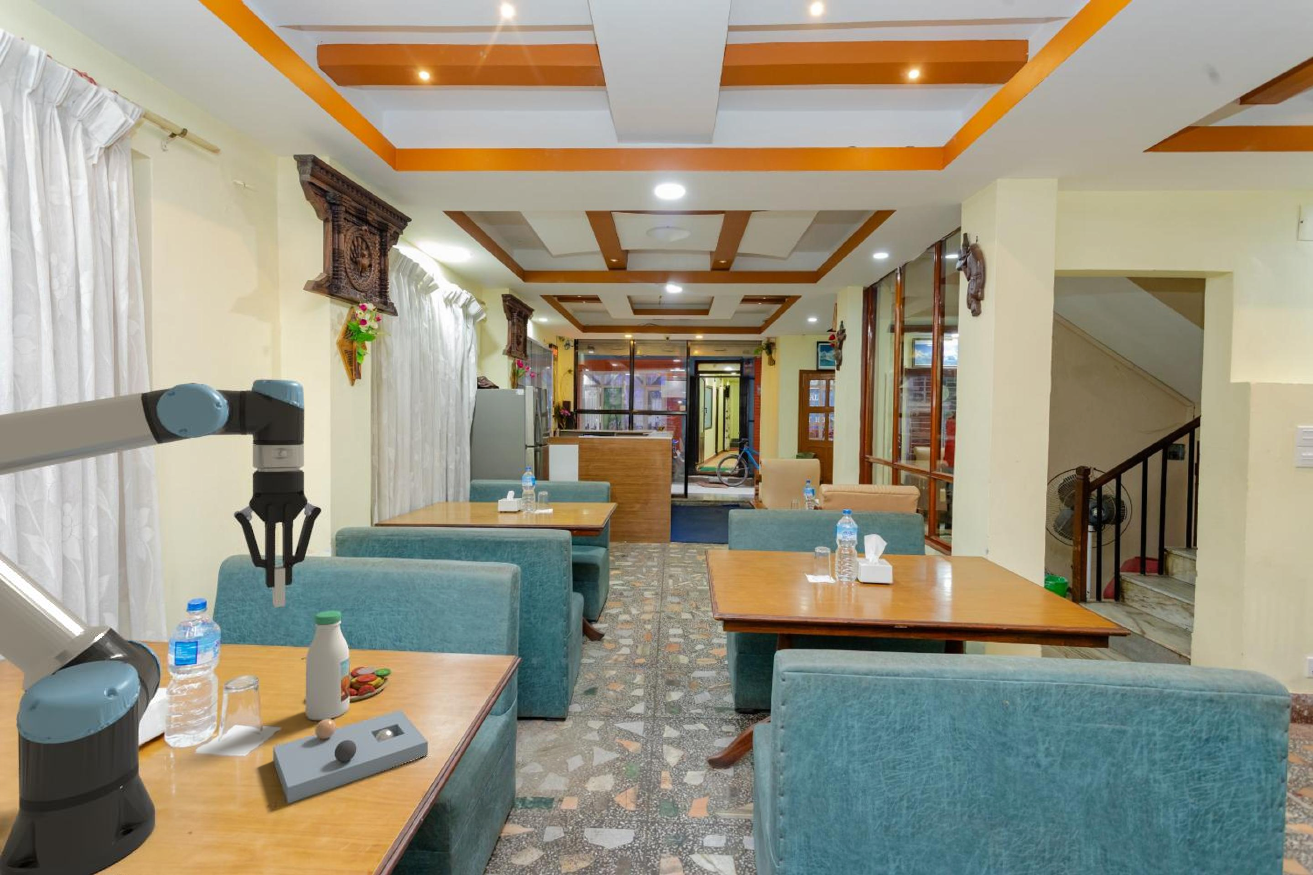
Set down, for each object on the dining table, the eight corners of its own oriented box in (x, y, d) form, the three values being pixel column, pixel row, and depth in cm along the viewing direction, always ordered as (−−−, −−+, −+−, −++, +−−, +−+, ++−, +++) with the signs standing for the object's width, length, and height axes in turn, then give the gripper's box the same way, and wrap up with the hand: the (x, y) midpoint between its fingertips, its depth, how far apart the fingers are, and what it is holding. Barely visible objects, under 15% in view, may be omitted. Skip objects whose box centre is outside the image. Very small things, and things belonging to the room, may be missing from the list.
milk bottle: (330, 723, 114) (330, 620, 114) (296, 719, 116) (296, 617, 116) (358, 705, 122) (358, 608, 122) (325, 701, 124) (325, 606, 123)
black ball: (337, 768, 95) (337, 748, 95) (332, 759, 98) (332, 740, 98) (358, 761, 97) (358, 741, 97) (353, 752, 100) (353, 734, 100)
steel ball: (374, 742, 103) (391, 729, 105) (369, 734, 106) (386, 722, 108) (382, 756, 104) (399, 743, 106) (377, 748, 107) (394, 736, 109)
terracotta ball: (317, 744, 102) (317, 726, 102) (313, 737, 105) (313, 719, 105) (337, 738, 104) (337, 720, 104) (333, 731, 107) (333, 713, 107)
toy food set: (306, 701, 124) (306, 686, 124) (348, 675, 137) (348, 661, 137) (364, 706, 122) (364, 691, 122) (401, 679, 135) (401, 665, 135)
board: (287, 803, 90) (287, 787, 90) (273, 760, 102) (273, 746, 102) (427, 755, 104) (427, 741, 104) (400, 722, 115) (400, 709, 115)
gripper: (235, 472, 96) (235, 617, 96) (325, 469, 104) (325, 602, 104) (230, 469, 101) (230, 606, 102) (317, 466, 110) (316, 593, 110)
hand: (278, 604), depth 103 cm, fingers closed
